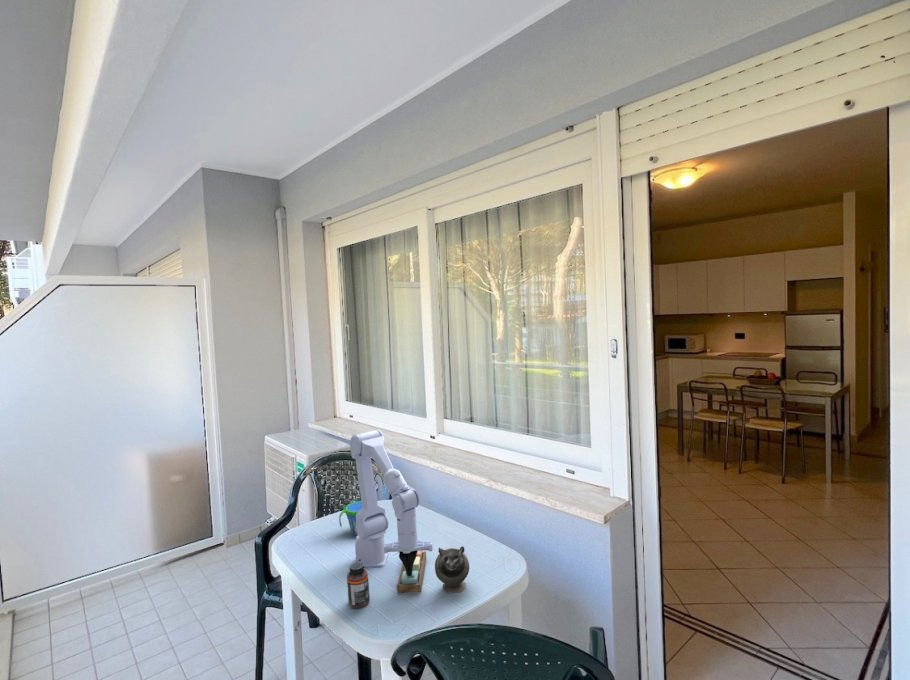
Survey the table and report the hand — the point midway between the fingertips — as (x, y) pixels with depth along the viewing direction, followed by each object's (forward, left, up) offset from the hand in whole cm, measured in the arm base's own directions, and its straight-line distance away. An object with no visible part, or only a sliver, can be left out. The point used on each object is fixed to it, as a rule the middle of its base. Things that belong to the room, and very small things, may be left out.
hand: (409, 574), depth 143 cm
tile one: (0, +6, -2) cm, 7 cm away
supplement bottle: (-14, -7, -4) cm, 16 cm away
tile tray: (0, +6, -4) cm, 7 cm away
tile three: (0, +12, -2) cm, 13 cm away
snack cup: (-23, +37, -4) cm, 44 cm away
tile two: (0, 0, -4) cm, 4 cm away
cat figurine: (+13, -1, -4) cm, 14 cm away
